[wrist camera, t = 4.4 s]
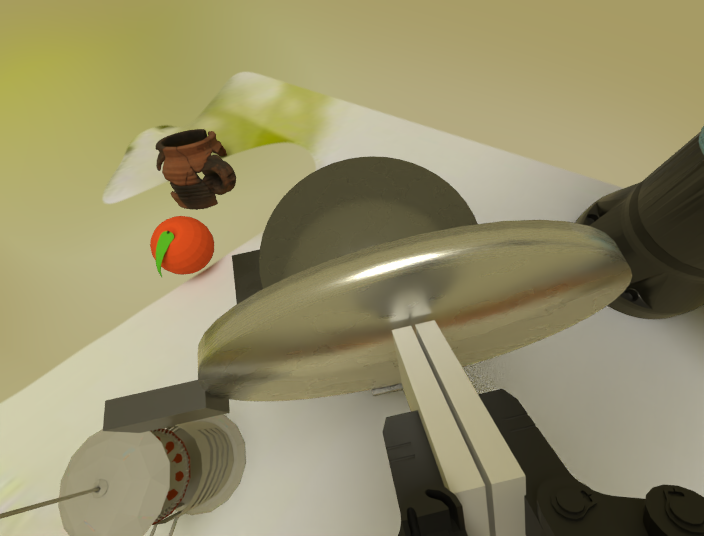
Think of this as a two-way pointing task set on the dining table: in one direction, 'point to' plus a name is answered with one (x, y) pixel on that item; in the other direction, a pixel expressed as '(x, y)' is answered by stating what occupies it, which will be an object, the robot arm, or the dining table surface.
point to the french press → (148, 477)
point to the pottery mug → (195, 168)
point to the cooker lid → (390, 315)
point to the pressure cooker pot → (348, 219)
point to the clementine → (182, 245)
